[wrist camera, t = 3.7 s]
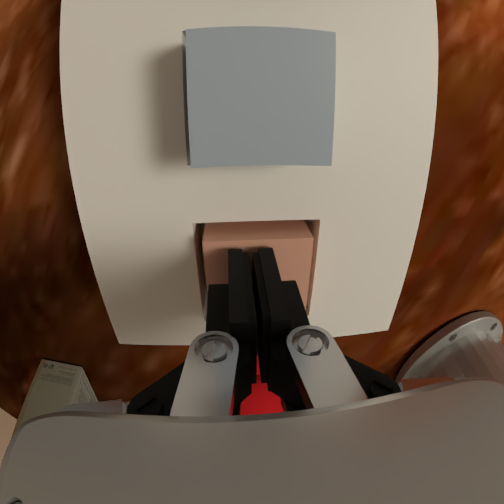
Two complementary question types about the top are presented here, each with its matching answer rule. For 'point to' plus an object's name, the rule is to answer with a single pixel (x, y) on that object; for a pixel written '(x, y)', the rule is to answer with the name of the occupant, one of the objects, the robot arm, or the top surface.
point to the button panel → (244, 177)
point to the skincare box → (55, 390)
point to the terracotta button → (260, 236)
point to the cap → (261, 399)
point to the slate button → (260, 96)
